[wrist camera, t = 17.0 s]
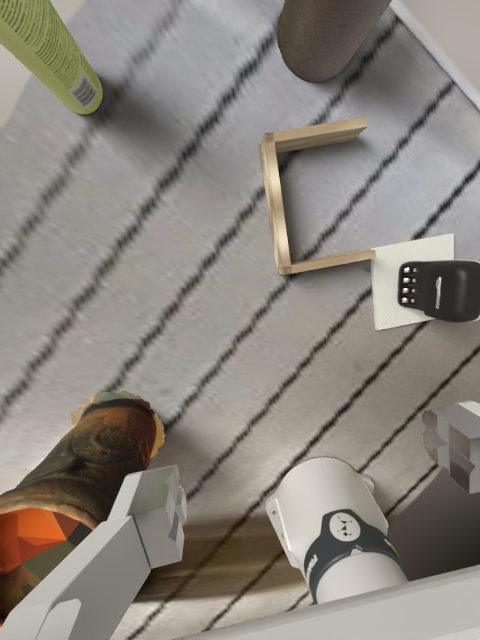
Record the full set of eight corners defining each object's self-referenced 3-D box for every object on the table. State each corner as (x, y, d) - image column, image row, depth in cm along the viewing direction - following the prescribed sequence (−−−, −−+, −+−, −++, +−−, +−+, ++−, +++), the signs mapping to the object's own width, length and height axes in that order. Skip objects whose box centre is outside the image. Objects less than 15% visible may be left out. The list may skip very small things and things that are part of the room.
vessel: (77, 480, 43) (-37, 658, 24) (60, 394, 40) (-85, 516, 21) (171, 470, 44) (137, 631, 25) (161, 386, 41) (114, 494, 22)
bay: (359, 257, 39) (375, 257, 35) (277, 273, 39) (284, 275, 35) (350, 132, 36) (366, 116, 32) (259, 147, 35) (264, 133, 31)
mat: (450, 314, 42) (453, 315, 42) (375, 329, 42) (377, 330, 41) (450, 233, 40) (453, 233, 39) (369, 248, 39) (372, 248, 39)
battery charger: (393, 260, 39) (463, 261, 28) (418, 258, 40) (498, 259, 28) (390, 309, 41) (456, 328, 30) (415, 307, 41) (489, 325, 30)
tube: (47, 71, 32) (-207, -211, 13) (88, 52, 32) (-106, -258, 13) (74, 123, 33) (-120, -60, 14) (112, 106, 33) (-28, -102, 14)
